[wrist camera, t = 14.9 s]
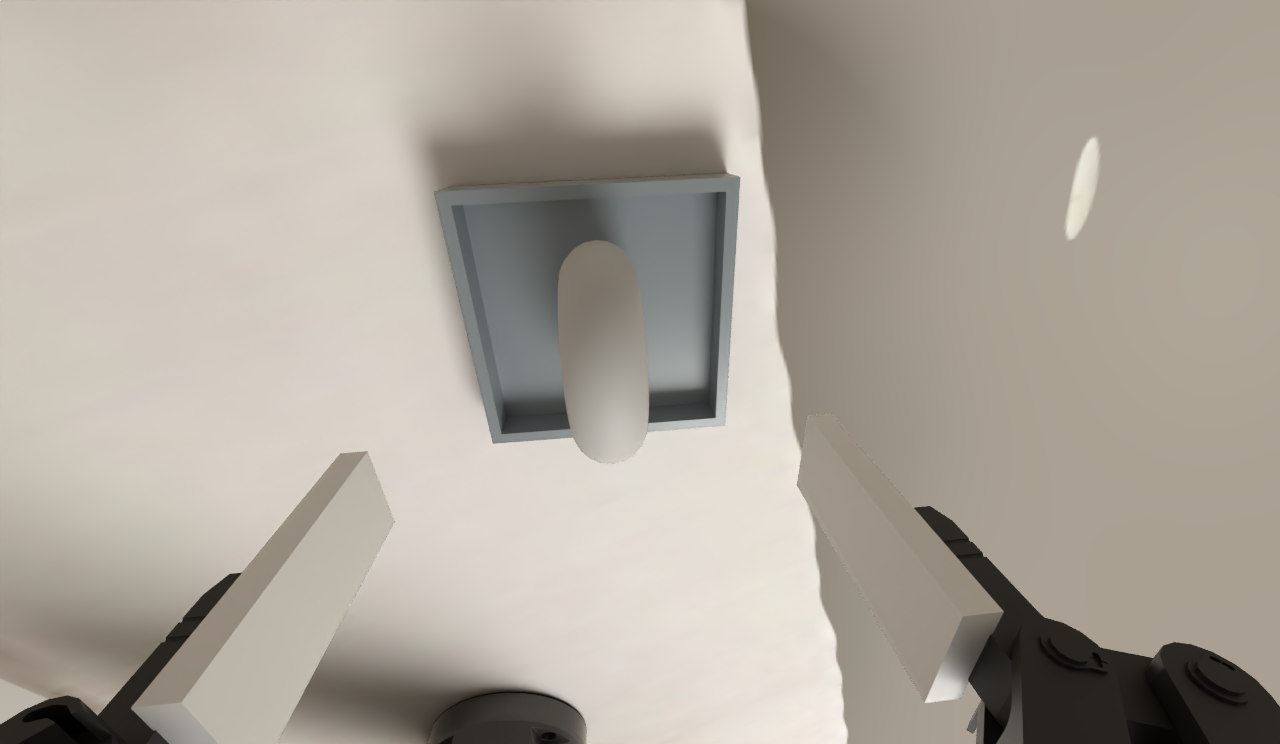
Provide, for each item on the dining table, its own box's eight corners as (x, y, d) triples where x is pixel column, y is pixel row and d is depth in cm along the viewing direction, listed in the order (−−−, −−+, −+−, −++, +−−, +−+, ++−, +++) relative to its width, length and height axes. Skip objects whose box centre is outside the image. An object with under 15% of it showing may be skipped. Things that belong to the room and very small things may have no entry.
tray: (716, 404, 29) (725, 425, 27) (500, 420, 28) (492, 443, 26) (727, 173, 23) (740, 177, 21) (449, 186, 22) (434, 191, 20)
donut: (638, 390, 28) (656, 510, 19) (581, 394, 27) (572, 518, 19) (630, 219, 23) (649, 272, 14) (561, 222, 23) (537, 278, 14)
